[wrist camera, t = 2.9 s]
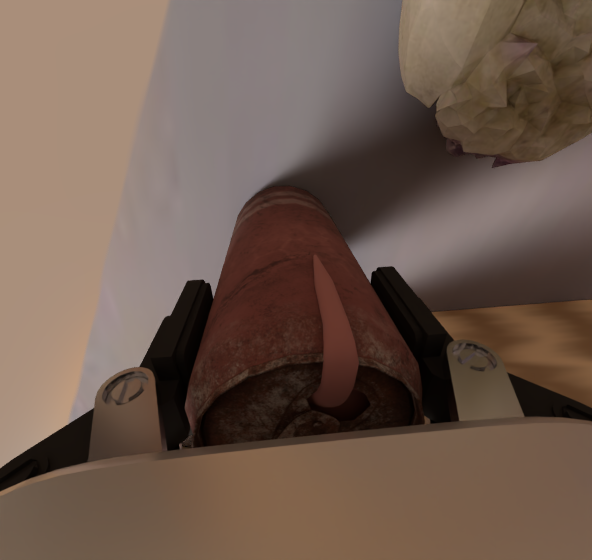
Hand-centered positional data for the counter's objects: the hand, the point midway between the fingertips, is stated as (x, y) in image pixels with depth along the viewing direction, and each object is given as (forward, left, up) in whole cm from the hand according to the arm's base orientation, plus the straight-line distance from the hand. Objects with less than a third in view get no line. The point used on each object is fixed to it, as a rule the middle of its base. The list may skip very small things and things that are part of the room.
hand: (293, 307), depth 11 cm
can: (0, 0, -9) cm, 9 cm away
